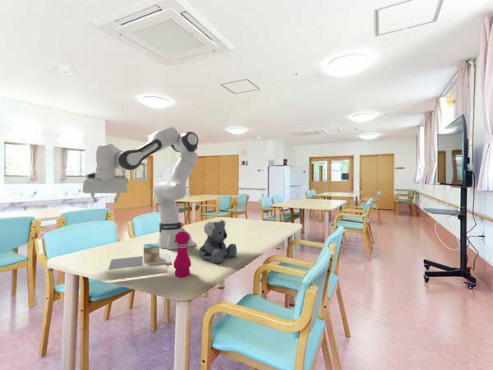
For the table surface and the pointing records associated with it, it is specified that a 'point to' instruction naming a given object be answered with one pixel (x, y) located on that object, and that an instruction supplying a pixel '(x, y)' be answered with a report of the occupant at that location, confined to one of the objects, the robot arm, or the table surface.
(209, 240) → the koala plush
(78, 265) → the table surface
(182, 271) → the pepper mill
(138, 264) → the mat
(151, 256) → the beech block
